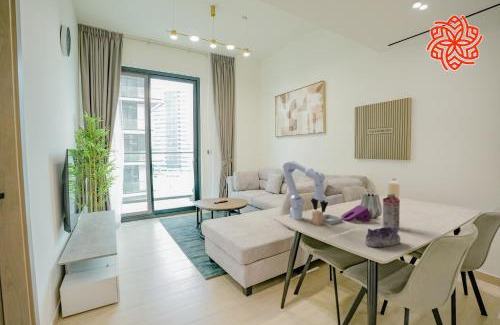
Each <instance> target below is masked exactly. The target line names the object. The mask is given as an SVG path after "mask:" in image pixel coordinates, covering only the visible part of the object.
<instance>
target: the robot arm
mask: <svg viewBox="0 0 500 325" xmlns="http://www.w3.org/2000/svg"><path fill="white" fill-rule="evenodd" d="M282 168H283V177H284V179H285V182H286V184H287V187H288V191H289V193H290V194H289V195H290V198H289V202H290V208H289V217H288V219H293V220H297V221H300V220H303V208H304V205H305V200H304V199H303V197H302V196H301V194H299V192H298V189H297V186H296V183H295V181H294V180H295V179H294V178H293V172H295V170H298V171H300V172H302V173H304V174H305V176H306V177H308V178H309V179H311V180H312V181H313V182H314V195H311V196H310V202H311V203H312V207H313V210H314V211H318V202H319V201H320V202H319V203H320V207H321V212H323V213H325V212H326V208H327V206H328V204H329V199H328V198H327V197H325V196H324V194H325V193H324V181H325V179H326V176H325V175H324V174H323V173H320V172H319V171H315V170H314V169H313V168H307V167H305V166H303V165H302V164H300V163H299V162H297V161H295V160H293V161H285V162H284V163H283V165H282Z"/></svg>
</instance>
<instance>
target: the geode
mask: <svg viewBox="0 0 500 325" xmlns="http://www.w3.org/2000/svg"><path fill="white" fill-rule="evenodd" d="M397 244H401V236H400V235H399V230H398V229H396V228H393V229H391V227H383V226H382V227H380V228H376V229H370V228H368V229H367V233H366V235H365V245H366V247H368V248H373V249H380V248H385V247H390V246H392V247H393V246H395V245H397Z"/></svg>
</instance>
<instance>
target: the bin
mask: <svg viewBox="0 0 500 325" xmlns="http://www.w3.org/2000/svg"><path fill="white" fill-rule="evenodd" d="M330 219H331V220H330ZM342 222H343V220H342V218H341V216H340V217H339V216H335V215H332V214H329V213H326V214H323V223H326V225H329V226H331V225H334V224H338V223H339V224H340V223H342Z"/></svg>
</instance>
